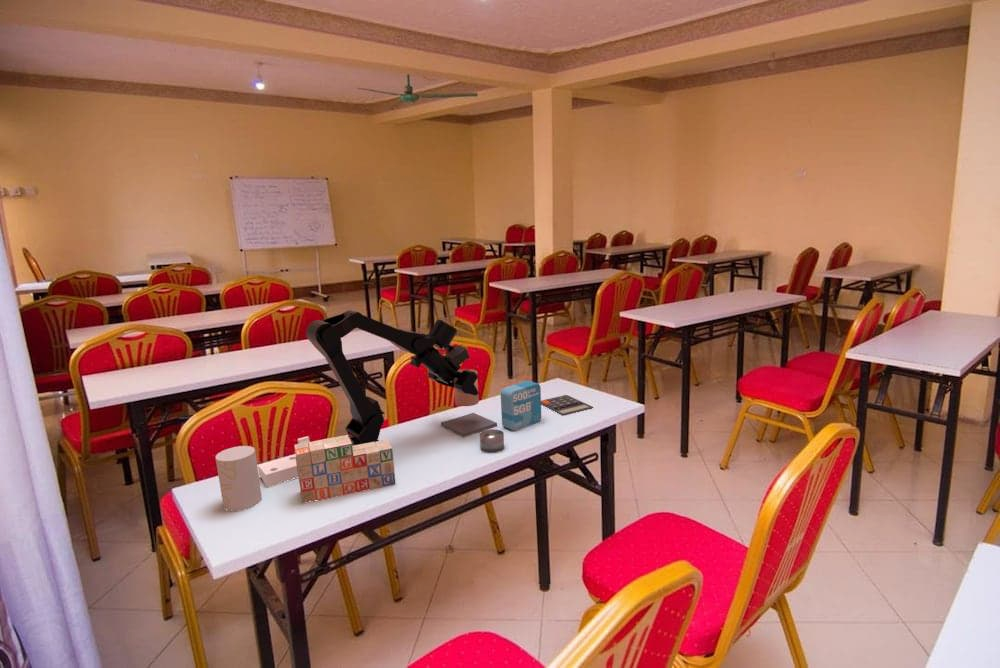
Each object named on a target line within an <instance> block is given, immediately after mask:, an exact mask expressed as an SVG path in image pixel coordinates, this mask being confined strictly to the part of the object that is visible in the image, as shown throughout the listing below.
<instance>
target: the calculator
mask: <svg viewBox="0 0 1000 668" xmlns="http://www.w3.org/2000/svg"><path fill="white" fill-rule="evenodd" d="M542 405H543V407H544V406H545V408H546V407H547V408H546V409H548V408H549V410H550V409H551V412H554V411H555V413H556V412H557V413H556V414H558V415H560V416H567V415H571V414H572V413H573V414H577V413H580V411H581V412H584V410H585V411H588V409H589V410H593V409H594V406H593V405H590V404H587V403H586V402H583V401H582V400H579V399H578V398H575V397H572V396H571V395H568V394H564V395H560V396H556V397H550V398H546V399H541V406H542ZM592 408H593V409H592ZM576 412H577V413H576Z"/></svg>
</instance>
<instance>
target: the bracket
mask: <svg viewBox="0 0 1000 668" xmlns="http://www.w3.org/2000/svg"><path fill="white" fill-rule="evenodd" d="M306 442H311V440H310V437H309V436H308V435H307V436H303V437H299V438H297V444H301V443H306ZM257 467H258V474H259V477H260V478H261V479H262V482H263V484H264V483H265V484H266V485H267V486H266V485H265V484H264V485H265V486H266V487H267V488H270V487H269V486H271V487H273V486H272V485H274V486H276V485H275V484H277V485H279V484H278V483H281V482H284V481H287V480H290V481H292V480H291V479H293V478H297V477H298V471H297V464H296V454H293V455H289V456H285V457H282V458H279V459H275V460H272V461H268V462H265V463H261V464H257ZM297 479H298V478H297ZM287 482H288V481H287ZM284 483H285V482H284ZM281 484H282V483H281Z"/></svg>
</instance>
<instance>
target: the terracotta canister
mask: <svg viewBox="0 0 1000 668" xmlns="http://www.w3.org/2000/svg"><path fill="white" fill-rule="evenodd" d="M463 370H464V369H460V370H458V372H461V373H462V372H463ZM470 370H471V371H473V372H475V373H476V374H477V375H478V376H479V374H478V371H477V370H475V369H470ZM478 378H479V377H478ZM478 378H477V380H476V381H475V383H474V385H475V387H476V389H477V391H478V392H479V383H478V382H479V381H478V380H479V379H478ZM456 381H457V380H455V379H454V387H455V382H456ZM454 400H455V405H456V406H459V407H471V406H475V405H477V404H479V403H480V402H479V393H478V394H477V396H476V395H472V394H465V393H462V392H460V391H458V390H457V389H456V388H454Z"/></svg>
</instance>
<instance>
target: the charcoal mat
mask: <svg viewBox="0 0 1000 668" xmlns="http://www.w3.org/2000/svg"><path fill="white" fill-rule="evenodd" d="M497 426H498V423H497V422H495V421H493V420H492V419H490V418H489V419H488V418H486V417H485V416H483V415H479V414H477V413H474V412H470V413H468V414H464V415H461V416H458V417H455V418H451V419H449V420H444V421H440V427H442V428H444V429H446V430H448V431H450V432H451V433H454V434H456V435H458V436H460V437H462V438H465V437H467V436H470V435H475V434H478V433H481V432H482V431H483V430H484V431H485V430H486V429H487V430H491V429H492V428H496V427H497Z"/></svg>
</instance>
